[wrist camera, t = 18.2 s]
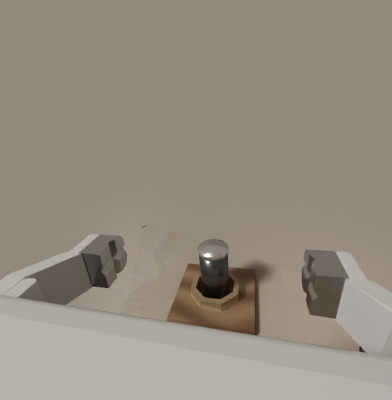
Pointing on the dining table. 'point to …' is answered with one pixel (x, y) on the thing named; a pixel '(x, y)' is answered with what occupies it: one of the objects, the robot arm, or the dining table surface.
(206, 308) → the mount
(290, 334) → the dining table surface
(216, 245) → the canister
